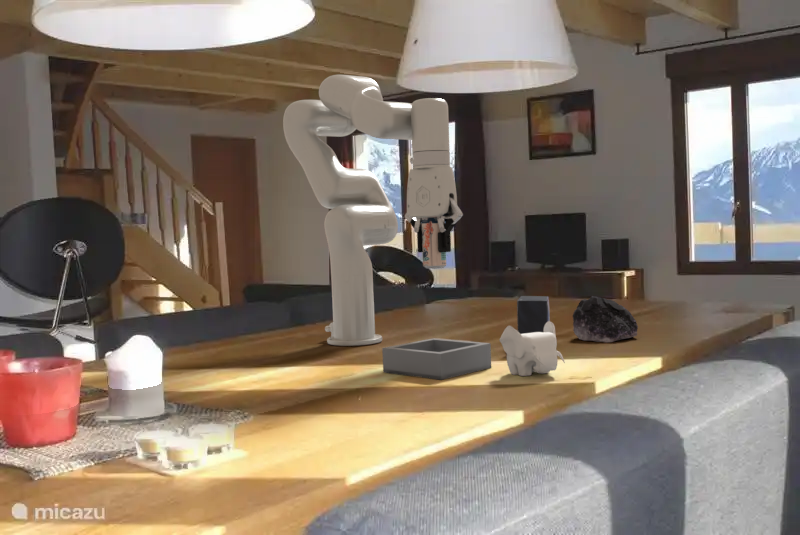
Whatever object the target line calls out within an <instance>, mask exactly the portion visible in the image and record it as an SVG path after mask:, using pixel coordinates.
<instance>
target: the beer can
mask: <svg viewBox="0 0 800 535" xmlns="http://www.w3.org/2000/svg"><path fill="white" fill-rule="evenodd" d="M443 216H444V215H443ZM421 221H422V222H421V223H422V250H423V252H422V267H424V268H425V269H428V270H432V269H433V270H435V269H444V268H445V267H447V252H439V251H438V232H441V231H440V228H439V224H438V220H437V217H431V218H421ZM444 222H445V220H444Z"/></svg>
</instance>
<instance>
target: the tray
mask: <svg viewBox="0 0 800 535" xmlns="http://www.w3.org/2000/svg"><path fill="white" fill-rule="evenodd" d="M435 338H436V337H434V338H429V339H422V340H417V341H412V342H408V343H401V344H396V345H390V346H386V347H381V350H382V370H383V373H385V374H394V375H402V376H408V377H417V378H423V379H424V378H425V379H430V380H431V379H432V380H439V381H442V380H446V379H451V378H454V377H455V378H456V377H458V376H464V375H467V373H468V374H471V373H475V372H480V371H483V370H487V369H491V368H492V353H491V352H492V351H491V350H492V349H491V342H481V341H480V342H479V341H473V342H469V341H470V340H464V341H458V340H459V339H453V340H446V339H447V338H441V339H435ZM479 370H480V371H479Z"/></svg>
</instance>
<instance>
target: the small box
mask: <svg viewBox="0 0 800 535" xmlns="http://www.w3.org/2000/svg"><path fill="white" fill-rule="evenodd" d="M549 298H550V297H549V296H548V295H547V296H545V295H543V296H542V295H538V296H537V295H520V297H519V298H518V299H517V300H516V319H517V320H516V322H517V331H518V332H519V333H520V334H524V333H533V332H544V326H545V324H546V323H547V322H548V321H550V322H551V320H550V300H549Z"/></svg>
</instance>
